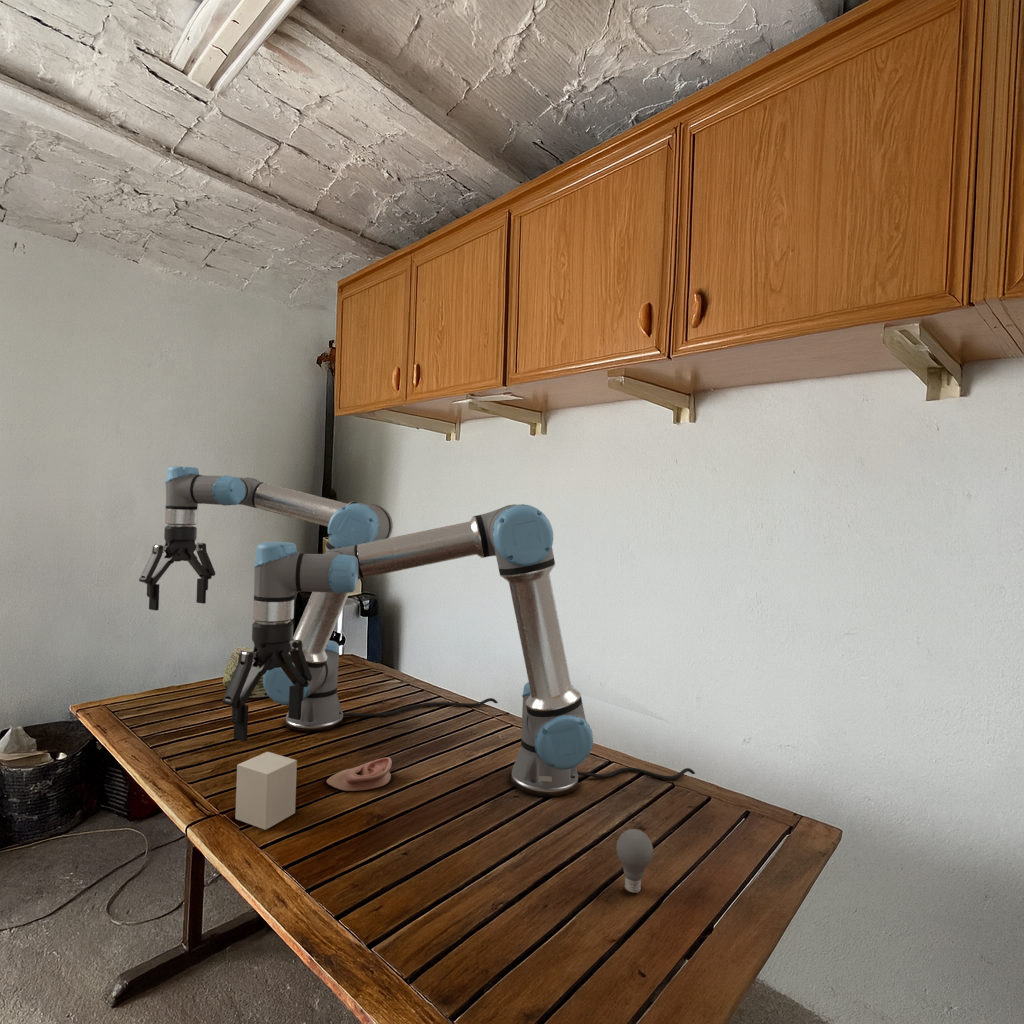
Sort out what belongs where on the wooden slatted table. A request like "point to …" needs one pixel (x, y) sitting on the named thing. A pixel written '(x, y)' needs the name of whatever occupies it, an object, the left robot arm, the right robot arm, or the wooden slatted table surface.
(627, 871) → the light bulb
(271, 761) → the brick
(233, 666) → the fossil
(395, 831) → the wooden slatted table surface
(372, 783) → the anatomical model
